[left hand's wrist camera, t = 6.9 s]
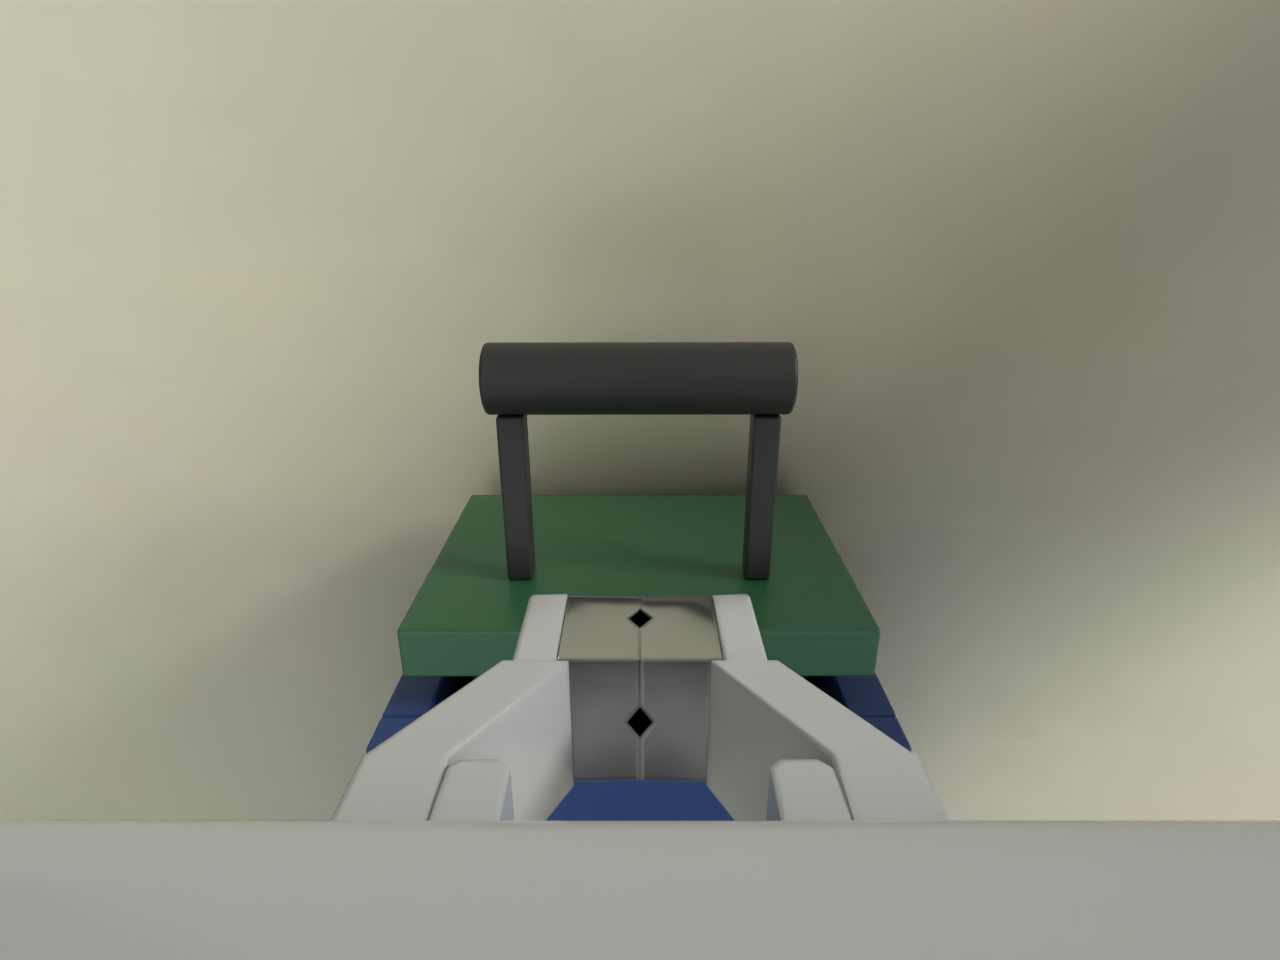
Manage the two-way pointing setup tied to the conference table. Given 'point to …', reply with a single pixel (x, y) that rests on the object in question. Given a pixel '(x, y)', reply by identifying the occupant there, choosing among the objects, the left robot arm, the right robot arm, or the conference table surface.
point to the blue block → (638, 795)
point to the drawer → (638, 515)
